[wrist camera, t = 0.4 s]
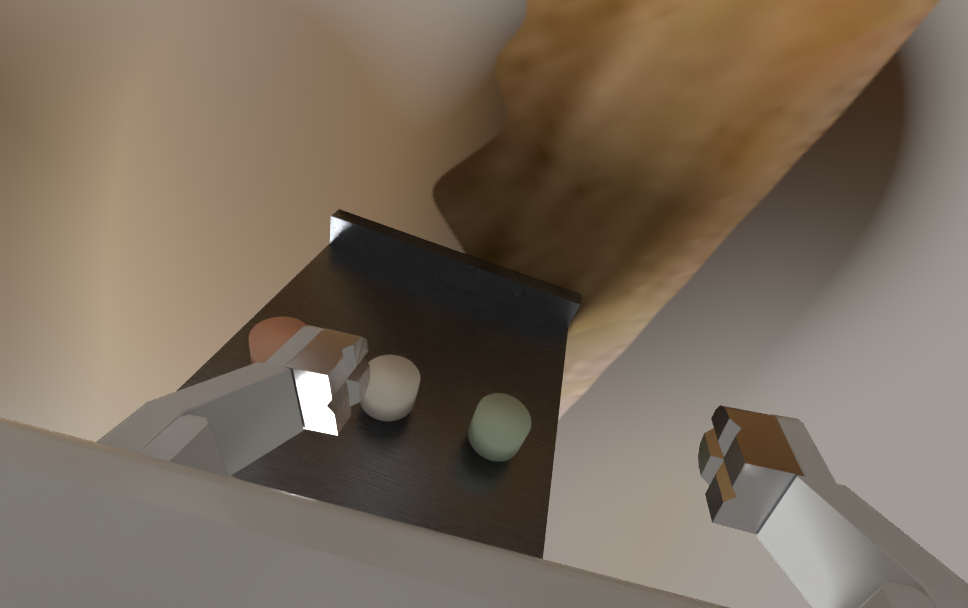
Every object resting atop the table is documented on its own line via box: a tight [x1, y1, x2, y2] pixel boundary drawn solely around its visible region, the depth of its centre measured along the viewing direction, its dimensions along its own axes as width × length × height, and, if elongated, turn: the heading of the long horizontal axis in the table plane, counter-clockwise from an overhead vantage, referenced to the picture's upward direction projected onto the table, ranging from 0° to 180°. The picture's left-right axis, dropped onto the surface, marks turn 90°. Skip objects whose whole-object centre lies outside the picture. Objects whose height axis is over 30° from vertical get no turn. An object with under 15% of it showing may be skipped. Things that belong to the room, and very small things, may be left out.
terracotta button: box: [248, 316, 307, 364], centre depth 38 cm, size 3×5×5 cm, turn 75°
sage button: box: [468, 393, 531, 462], centre depth 37 cm, size 3×5×5 cm, turn 75°
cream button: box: [360, 355, 420, 421], centre depth 37 cm, size 3×5×5 cm, turn 75°
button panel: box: [177, 209, 581, 559], centre depth 45 cm, size 12×32×33 cm, turn 75°
